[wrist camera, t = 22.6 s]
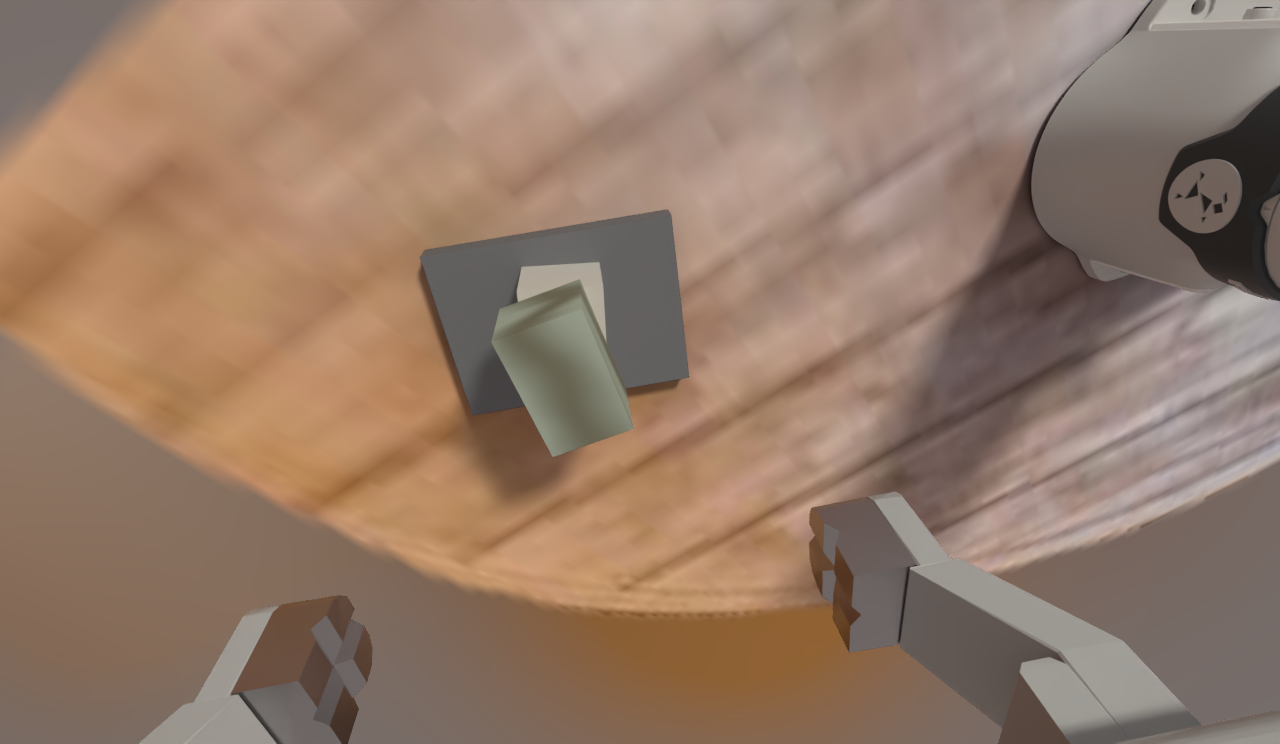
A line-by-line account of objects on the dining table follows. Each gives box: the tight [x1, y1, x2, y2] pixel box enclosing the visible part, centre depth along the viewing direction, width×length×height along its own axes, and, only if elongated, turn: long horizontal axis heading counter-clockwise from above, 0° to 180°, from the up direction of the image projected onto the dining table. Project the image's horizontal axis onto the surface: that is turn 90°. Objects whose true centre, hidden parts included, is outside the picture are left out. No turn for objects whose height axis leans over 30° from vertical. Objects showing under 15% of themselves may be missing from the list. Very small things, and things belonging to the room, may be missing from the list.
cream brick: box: [517, 262, 607, 342], centre depth 38 cm, size 5×8×4 cm, turn 2°
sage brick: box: [491, 279, 633, 457], centre depth 34 cm, size 5×8×4 cm, turn 19°
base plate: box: [420, 210, 689, 415], centre depth 41 cm, size 16×12×2 cm
